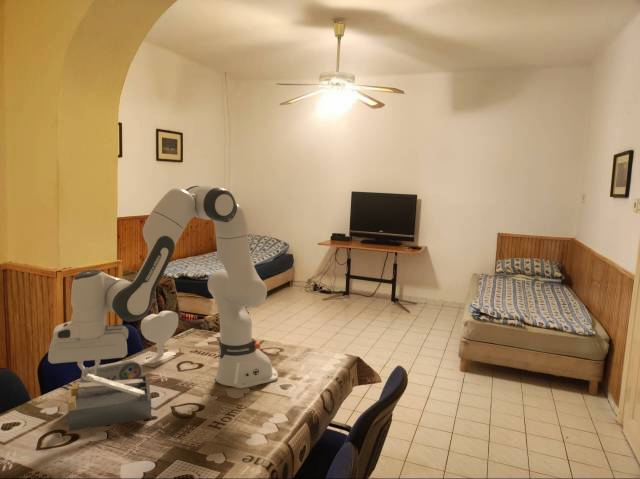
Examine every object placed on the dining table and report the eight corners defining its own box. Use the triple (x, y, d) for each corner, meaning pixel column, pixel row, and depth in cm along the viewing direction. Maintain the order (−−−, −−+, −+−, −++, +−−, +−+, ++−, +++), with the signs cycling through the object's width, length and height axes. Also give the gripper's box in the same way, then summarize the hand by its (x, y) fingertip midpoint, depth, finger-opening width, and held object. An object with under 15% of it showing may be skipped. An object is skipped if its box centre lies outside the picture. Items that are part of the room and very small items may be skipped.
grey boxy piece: (148, 397, 156) (148, 373, 154) (151, 419, 142) (151, 393, 141) (73, 408, 147) (72, 382, 146) (68, 432, 134) (67, 404, 133)
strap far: (143, 382, 153) (144, 378, 153) (144, 386, 150) (144, 382, 150) (79, 387, 146) (79, 383, 146) (78, 391, 143) (78, 387, 143)
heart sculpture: (171, 350, 198) (171, 308, 195) (180, 352, 195) (179, 310, 193) (139, 361, 184) (139, 316, 182) (148, 364, 182) (147, 319, 179)
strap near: (144, 395, 145) (146, 391, 145) (144, 399, 142) (146, 395, 142) (82, 376, 137) (84, 372, 137) (81, 380, 134) (83, 376, 134)
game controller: (81, 394, 157) (80, 370, 155) (80, 391, 158) (79, 367, 157) (142, 381, 168) (142, 359, 166) (141, 379, 169) (140, 357, 168)
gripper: (128, 321, 142) (128, 366, 143) (49, 326, 134) (50, 373, 135) (128, 328, 136) (128, 374, 137) (46, 333, 128) (47, 382, 130)
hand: (89, 374), depth 136 cm, fingers closed
